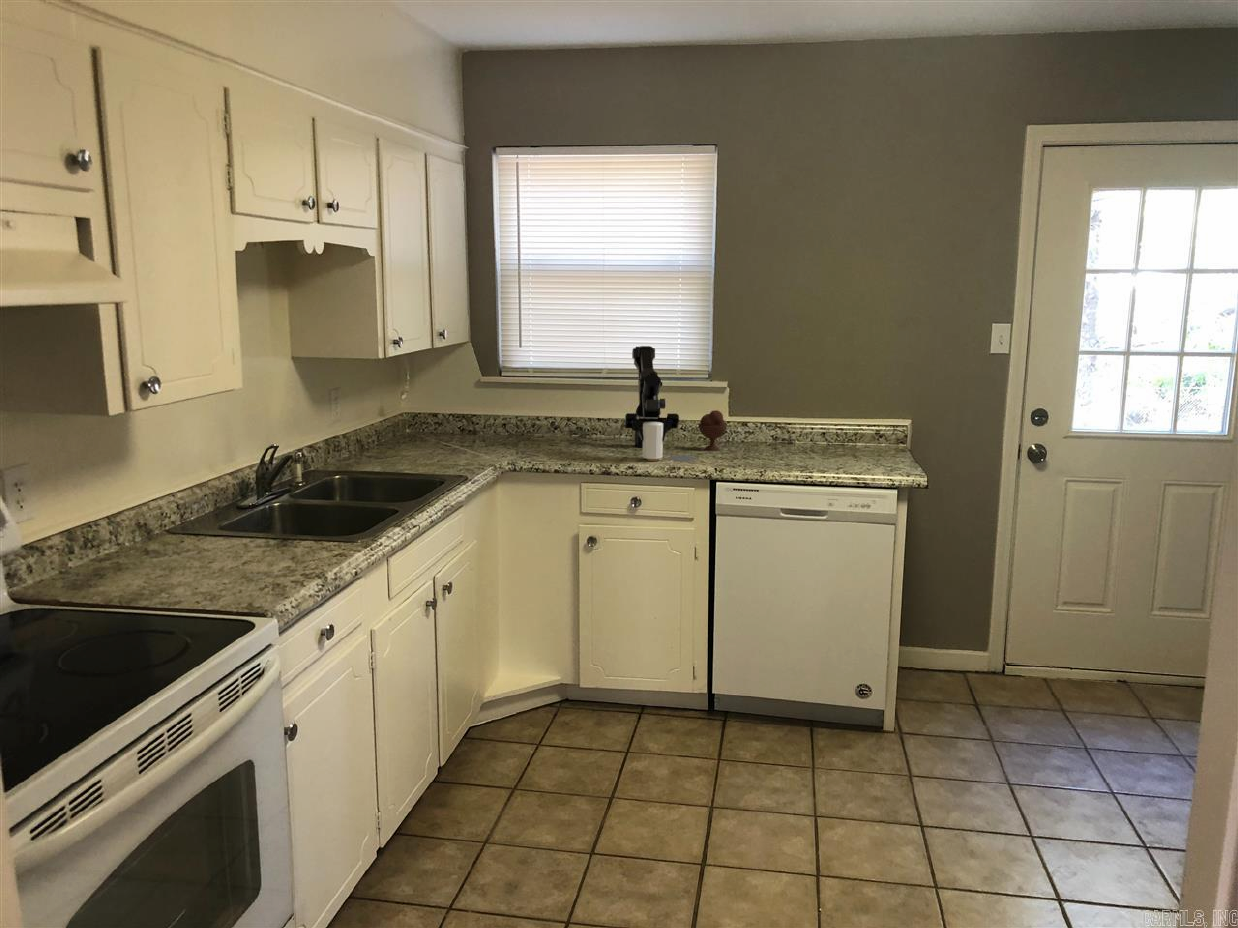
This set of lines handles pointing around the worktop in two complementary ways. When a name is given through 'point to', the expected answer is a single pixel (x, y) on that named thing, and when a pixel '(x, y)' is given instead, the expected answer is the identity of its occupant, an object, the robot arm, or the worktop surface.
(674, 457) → the mat
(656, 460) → the pink rounded block
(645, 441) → the tumbler
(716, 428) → the ice cream bowl
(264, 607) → the worktop surface
